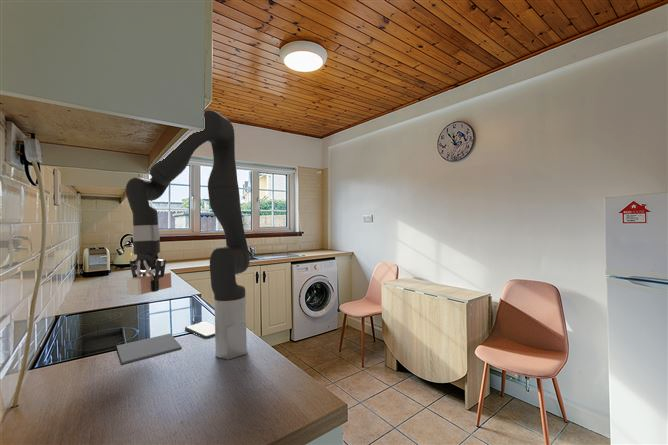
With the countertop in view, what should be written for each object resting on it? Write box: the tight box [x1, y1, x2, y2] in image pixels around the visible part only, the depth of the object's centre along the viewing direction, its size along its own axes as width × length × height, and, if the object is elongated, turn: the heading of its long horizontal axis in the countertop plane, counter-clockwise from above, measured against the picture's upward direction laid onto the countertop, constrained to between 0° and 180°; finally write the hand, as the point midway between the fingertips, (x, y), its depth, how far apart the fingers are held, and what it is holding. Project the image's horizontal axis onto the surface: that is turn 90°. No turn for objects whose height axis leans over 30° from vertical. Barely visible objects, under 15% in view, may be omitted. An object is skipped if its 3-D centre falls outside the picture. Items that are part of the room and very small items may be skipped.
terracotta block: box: [125, 272, 172, 296], centre depth 101 cm, size 5×5×12 cm
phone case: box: [184, 320, 215, 339], centre depth 116 cm, size 9×2×16 cm
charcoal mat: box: [116, 333, 183, 365], centre depth 101 cm, size 16×16×1 cm
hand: (148, 291), depth 101 cm, fingers closed on terracotta block, 5 cm apart
